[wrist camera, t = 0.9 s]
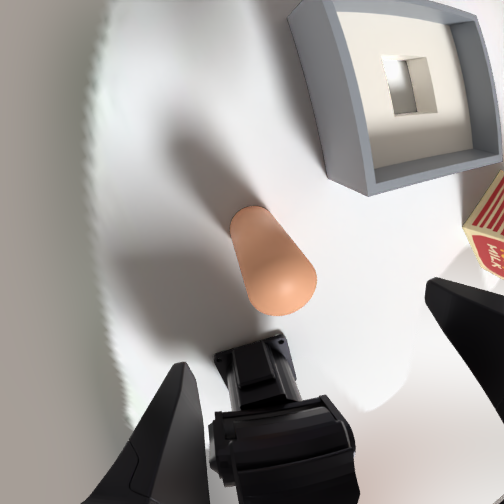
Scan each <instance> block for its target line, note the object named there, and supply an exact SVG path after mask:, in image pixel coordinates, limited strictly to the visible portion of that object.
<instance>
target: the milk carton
mask: <svg viewBox="0 0 504 504" xmlns="http://www.w3.org/2000/svg"><path fill="white" fill-rule="evenodd" d="M462 228H463V230H464V232H465V234H466V236H467V239H468V241H469V243H470V245H471V247H472V249H473V252H474V254H475V256H476V258H477V260H478V262H479V264H480V267H481V268H483V269H485V270H486V271H488V272H490V273H492V274H494V275H496V276H497V277H499V278H501V279H503V280H504V171H502V170H500V171H499V173H498V175H497V176H496V178H495V179H494V181H493V182H492V184H491V185H490V187H489V188H488V190H487V191H486V193H485V194H484V196H483V197H482V199H481V200H480V202H479V203H478V205H477V206H476V208H475V209H474V211H473V212H472V214H471V215H470V217H469V218H468V219H467V221H466V222H465V224H464V225H463V226H462Z"/></svg>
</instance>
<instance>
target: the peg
mask: <svg viewBox="0 0 504 504" xmlns="http://www.w3.org/2000/svg"><path fill="white" fill-rule="evenodd" d="M230 234H231V238H232V242H233V245H234V249H235V252H236V256H237V259H238V263H239V266H240V270H241V273H242V277H243V280H244V283H245V287H246V290H247V294H248V297H249V300H250V302H251V303H252V305H253V306H254V307H255V308H256V309H257V310H258V311H260V312H262V313H264V314H267V315H271V316H283V315H287V314H291V313H293V312H295V311H297V310H299V309H300V308H302V307H303V306H304V305H305V304H306V303H307V302H308V301H309V300H310V299H311V297H312V295H313V294H314V291H315V288H316V284H317V276H316V272H315V269H314V267H313V266H312V264H311V263H310V262H309V260H308V259H307V258H306V257H305V255H304V254H303V253H302V251H301V250H300V249H299V248H298V246H297V245H296V244H295V243H294V241H293V240H292V239H291V238H290V236H289V235H288V234H287V233H286V231H285V230H284V229H283V228H282V227H281V225H280V224H279V223H278V222H277V220H276V219H275V218H274V217H273V215H272V214H271V213H270V212H269V211H268V210H266V209H265V208H263V207H259V206H249V207H245V208H243V209H241V210H240V211H238V212H237V213H236V214H235V216H234V217H233V219H232V221H231V224H230Z"/></svg>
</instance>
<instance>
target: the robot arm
mask: <svg viewBox="0 0 504 504" xmlns="http://www.w3.org/2000/svg"><path fill="white" fill-rule="evenodd" d="M425 303H426V305H427V306H428V308H429V310H430V311H431V313H432V314H433V316H434V317H435V319H436V321H437V323H438V324H439V326H440V327H441V329H442V331H443V332H444V334H445V335H446V336H447V338H448V339H449V341H450V342H451V343H452V345H453V346H454V347H455V349H456V350H457V351H458V353H459V354H460V356H461V357H462V359H463V360H464V362H465V363H466V364H467V366H468V367H469V368H470V370H471V372H472V373H473V375H474V376H475V378H476V379H477V381H478V382H479V384H480V385H481V387H482V388H483V390H484V391H485V393H486V395H487V396H488V398H489V399H490V401H491V403H492V404H493V406H494V408H495V409H496V411H497V413H498V414H499V416H500V418H501V420H502V422H503V423H504V296H503V295H500V294H496V293H493V292H489V291H485V290H482V289H478V288H475V287H471V286H467V285H464V284H460V283H456V282H452V281H449V280H445V279H441V278H438V277H435V278H432V279H430V280H428V281H427V283H426V291H425ZM280 340H282V341H280ZM218 358H221V359H218ZM213 359H214V363H215V365H216V367H217V369H218V371H219V372H220V374H221V376H222V378H223V380H224V382H225V384H226V386H227V388H228V389H229V395H230V401H231V408H232V411H231V412H222V411H219V412H215V420H213V423H211V424H210V425H208V429H209V440H210V451H209V463H210V468H211V469H212V470H214V471H215V472H217V473H218V474H219V477H220V479H221V478H222V479H223V483H224V486H225V487H232V486H236V490H237V495H238V501H239V504H357V503H358V499H359V496H360V490H359V486H358V483H357V478H356V474H355V468H354V457H355V449H356V446H355V439H354V435H353V432H352V429H351V427H350V425H349V424H348V422H347V421H346V419H345V418H344V417H343V416H342V415H341V413H340V412H339V411H338V410H337V408H336V407H335V406H334V404H333V403H332V402H331V401H330V399H329V398H328V397H327V396H326V395H322V396H319V397H317V398H313V399H308V400H303V401H302V398H301V396H300V393H299V390H298V388H297V385H296V382H295V381H296V374H295V371H294V366H293V362H292V359H291V355H290V351H289V347H288V343H287V339H286V337H285V336H284V335H277V336H274V337H271V338H268V339H265V340H262V341H258V342H255V343H252V344H248V345H245V346H242V347H238V348H235V349H231V350H227V351H224V352H220V353H217V354H215V355H214V357H213ZM81 504H210V498H209V490H208V477H207V466H206V455H205V440H204V425H203V417H202V411H201V406H200V400H199V394H198V388H197V383H196V379H195V377H194V375H193V373H192V371H191V370H190V368H189V366H188V364H187V363H186V362H180V363H175V364H174V365H173V366H172V367H171V369H170V371H169V372H168V374H167V376H166V377H165V379H164V381H163V383H162V384H161V386H160V388H159V389H158V391H157V393H156V394H155V396H154V398H153V399H152V401H151V403H150V404H149V406H148V408H147V409H146V411H145V413H144V414H143V416H142V418H141V420H140V421H139V423H138V425H137V426H136V428H135V430H134V431H133V433H132V435H131V437H130V438H129V441H127V443H126V445H125V447H124V448H123V450H122V451H121V453H120V455H119V456H118V458H117V460H116V461H115V462H114V464H113V465H112V467H111V468H110V469H109V471H108V472H107V474H106V475H105V476H104V478H103V479H102V480H101V482H100V483H99V484H98V486H97V487H96V488H95V489H94V491H93V492H92V494H91V495H90V496H89V497H88V498H87V499H86V500H85V501H84V502H82V503H81ZM493 504H504V495H503V496H501V497H500V498H499V499H498V500H497V501H496V502H495V503H493Z"/></svg>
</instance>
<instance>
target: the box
mask: <svg viewBox="0 0 504 504" xmlns="http://www.w3.org/2000/svg"><path fill="white" fill-rule="evenodd" d="M287 19H288V22H289V25H290V29H291V32H292V35H293V38H294V41H295V44H296V48H297V51H298V54H299V58H300V61H301V65H302V68H303V72H304V75H305V79H306V83H307V87H308V90H309V94H310V98H311V102H312V106H313V110H314V115H315V119H316V123H317V128H318V132H319V137H320V141H321V146H322V151H323V156H324V161H325V166H326V171H327V176H328V179H330V180H332V181H334V182H337V183H339V184H341V185H343V186H346V187H348V188H350V189H352V190H354V191H357V192H359V193H361V194H363V195H365V196H367V197H369V196H373V195H377V194H380V193H384V192H387V191H391V190H395V189H398V188H402V187H406V186H410V185H413V184H417V183H421V182H424V181H428V180H432V179H436V178H440V177H443V176H447V175H451V174H455V173H459V172H463V171H467V170H471V169H475V168H479V167H483V166H487V165H491V164H495V163H499V162H503V158H502V138H501V126H500V117H499V109H498V101H497V95H496V89H495V84H494V78H493V73H492V69H491V64H490V60H489V56H488V52H487V48H486V45H485V41H484V38H483V35H482V31H481V28H480V25H479V22H478V19H477V16H476V15H474V14H471V13H468V12H465V11H462V10H460V9H456V8H453V7H450V6H447V5H444V4H440V3H437V2H433V1H429V0H302V1H301V3H300V4H299V5H298V6H297V7H296V8H295V9H294V10H293V12H292V13H291V14H290V15H289V16H288V17H287ZM382 60H403V61H406V62H407V66H408V70H409V74H410V78H411V83H412V87H413V92H414V97H415V102H416V107H417V112H412V113H402V114H394V110H393V105H392V100H391V95H390V90H389V86H388V82H387V77H386V73H385V69H384V65H383V62H382Z"/></svg>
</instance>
